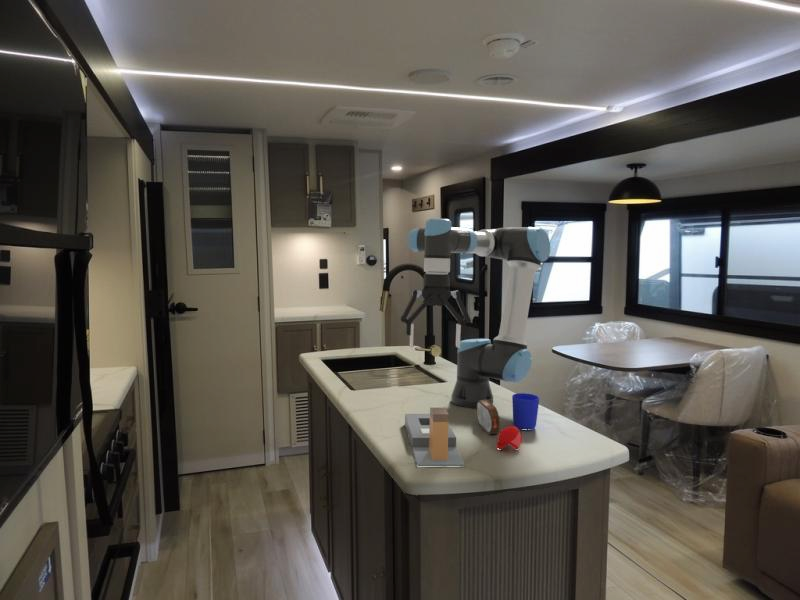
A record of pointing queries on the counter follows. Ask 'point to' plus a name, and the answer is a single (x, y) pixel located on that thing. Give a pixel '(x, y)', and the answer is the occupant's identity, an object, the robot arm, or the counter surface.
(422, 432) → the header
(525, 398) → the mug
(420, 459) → the mat
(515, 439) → the cap
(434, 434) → the plug
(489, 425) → the tin
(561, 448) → the counter surface
